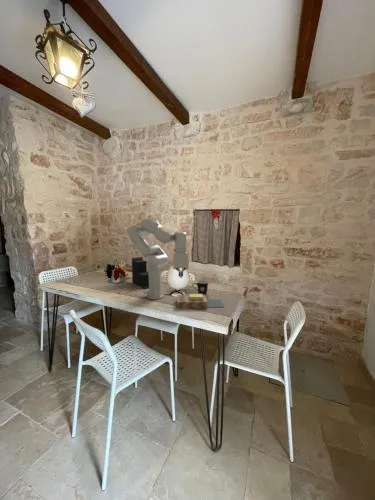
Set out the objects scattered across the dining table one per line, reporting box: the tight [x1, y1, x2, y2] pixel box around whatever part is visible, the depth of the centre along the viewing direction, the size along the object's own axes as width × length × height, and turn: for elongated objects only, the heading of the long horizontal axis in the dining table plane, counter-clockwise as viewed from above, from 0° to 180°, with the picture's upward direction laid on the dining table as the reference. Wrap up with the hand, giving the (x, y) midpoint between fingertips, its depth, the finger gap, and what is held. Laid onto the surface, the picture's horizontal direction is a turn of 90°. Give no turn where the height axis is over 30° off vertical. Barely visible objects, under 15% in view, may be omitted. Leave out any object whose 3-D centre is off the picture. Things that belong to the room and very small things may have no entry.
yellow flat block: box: [188, 293, 203, 300], centre depth 151 cm, size 9×6×2 cm, turn 91°
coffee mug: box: [191, 279, 209, 296], centre depth 171 cm, size 12×9×10 cm
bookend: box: [131, 256, 149, 290], centre depth 194 cm, size 23×11×24 cm, turn 40°
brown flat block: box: [176, 294, 208, 309], centre depth 151 cm, size 20×14×4 cm
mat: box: [207, 298, 225, 309], centre depth 152 cm, size 11×14×1 cm
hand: (180, 277), depth 149 cm, fingers closed
